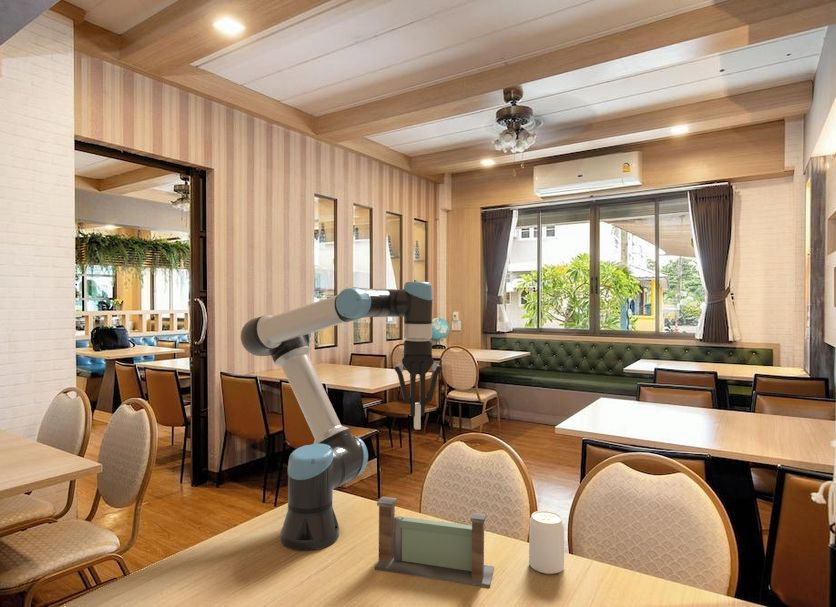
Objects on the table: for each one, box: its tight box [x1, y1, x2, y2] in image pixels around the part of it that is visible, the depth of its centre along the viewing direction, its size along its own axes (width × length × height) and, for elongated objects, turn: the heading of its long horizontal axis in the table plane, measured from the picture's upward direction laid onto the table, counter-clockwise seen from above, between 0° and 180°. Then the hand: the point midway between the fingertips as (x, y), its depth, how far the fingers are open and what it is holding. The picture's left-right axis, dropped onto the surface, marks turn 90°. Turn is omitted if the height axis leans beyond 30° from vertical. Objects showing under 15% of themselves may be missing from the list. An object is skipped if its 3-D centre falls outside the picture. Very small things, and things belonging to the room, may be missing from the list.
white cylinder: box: [528, 510, 565, 575], centre depth 120 cm, size 8×8×12 cm
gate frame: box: [374, 496, 495, 588], centre depth 118 cm, size 8×28×15 cm, turn 75°
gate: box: [394, 515, 472, 571], centre depth 118 cm, size 2×22×10 cm, turn 75°
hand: (417, 428), depth 134 cm, fingers closed
